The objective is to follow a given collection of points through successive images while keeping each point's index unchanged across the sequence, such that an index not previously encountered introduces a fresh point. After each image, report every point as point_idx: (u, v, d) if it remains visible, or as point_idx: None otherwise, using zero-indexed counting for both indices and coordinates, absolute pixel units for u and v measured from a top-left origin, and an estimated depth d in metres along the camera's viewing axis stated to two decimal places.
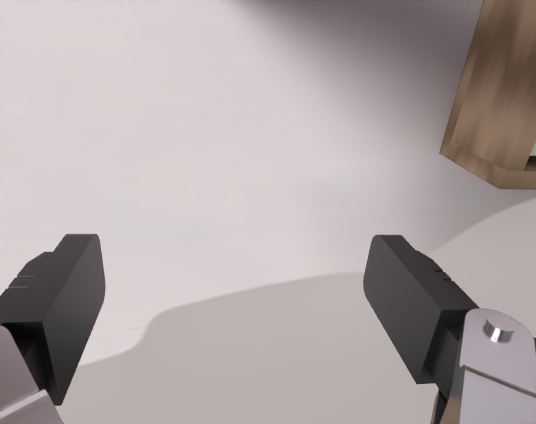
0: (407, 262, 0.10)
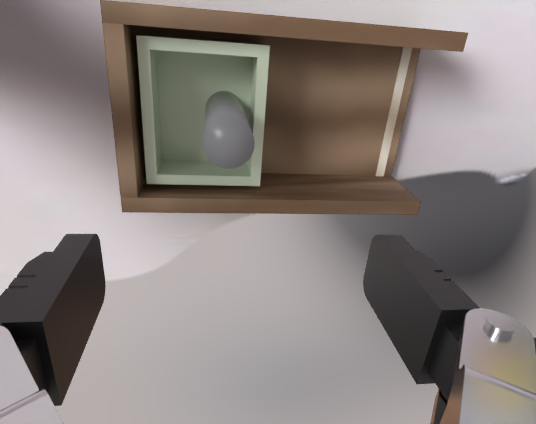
0: (407, 262, 0.10)
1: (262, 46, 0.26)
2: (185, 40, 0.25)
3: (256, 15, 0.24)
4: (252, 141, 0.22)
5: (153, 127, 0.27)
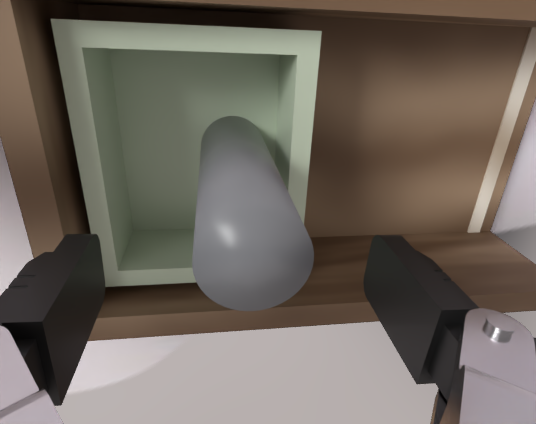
0: (407, 262, 0.10)
1: (307, 33, 0.13)
2: (153, 26, 0.12)
3: None
4: (309, 253, 0.09)
5: (104, 193, 0.15)
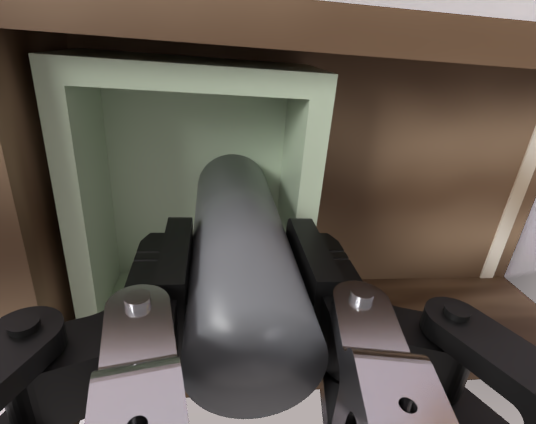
0: (305, 241, 0.10)
1: (321, 76, 0.12)
2: (147, 64, 0.11)
3: (317, 4, 0.10)
4: (322, 357, 0.08)
5: (86, 243, 0.13)
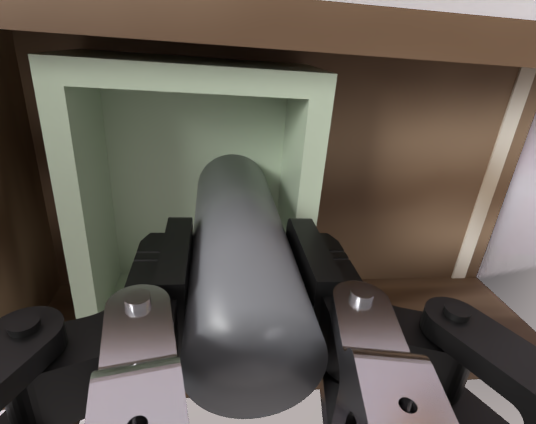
0: (305, 241, 0.10)
1: (321, 76, 0.12)
2: (146, 64, 0.11)
3: None
4: (322, 356, 0.08)
5: (86, 244, 0.13)
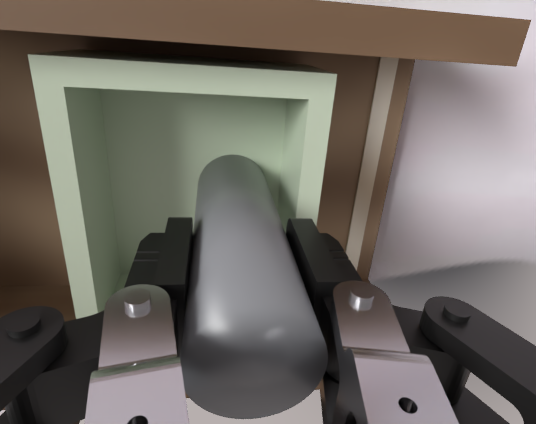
0: (305, 241, 0.10)
1: (320, 76, 0.12)
2: (146, 65, 0.11)
3: None
4: (322, 356, 0.08)
5: (86, 244, 0.13)
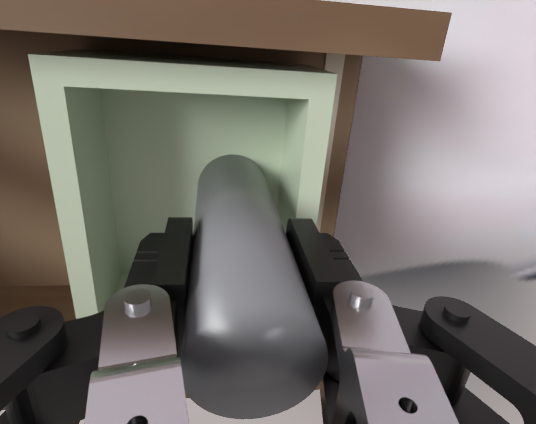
0: (305, 241, 0.10)
1: (321, 76, 0.12)
2: (146, 65, 0.11)
3: None
4: (322, 356, 0.08)
5: (86, 244, 0.13)
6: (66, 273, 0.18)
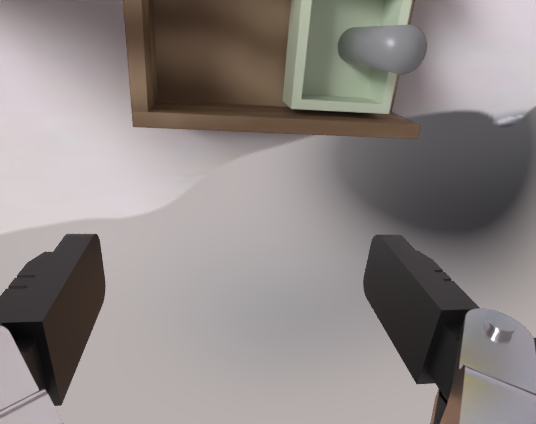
0: (407, 262, 0.10)
1: None
2: None
3: None
4: (424, 48, 0.25)
5: (305, 53, 0.30)
6: (260, 97, 0.36)
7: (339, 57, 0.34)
